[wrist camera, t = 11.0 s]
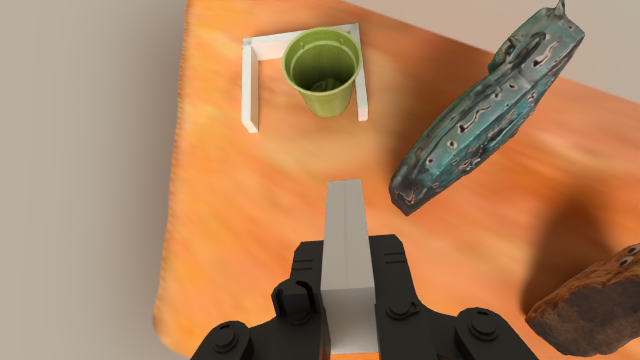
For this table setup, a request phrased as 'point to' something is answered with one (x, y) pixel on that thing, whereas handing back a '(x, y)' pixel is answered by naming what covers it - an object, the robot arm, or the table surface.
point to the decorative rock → (593, 308)
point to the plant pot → (323, 68)
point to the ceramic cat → (487, 109)
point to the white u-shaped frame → (275, 49)
